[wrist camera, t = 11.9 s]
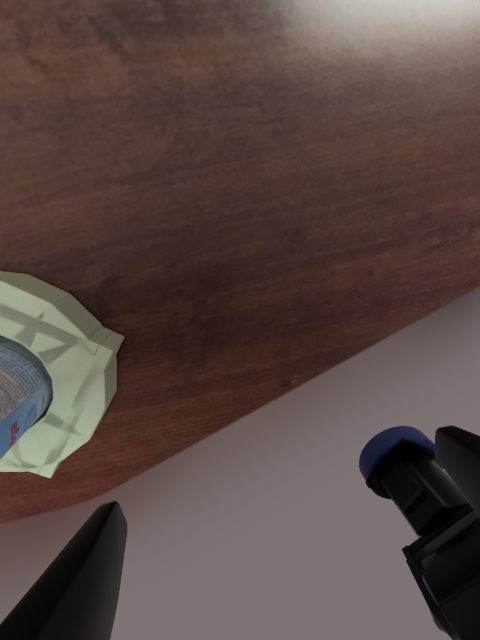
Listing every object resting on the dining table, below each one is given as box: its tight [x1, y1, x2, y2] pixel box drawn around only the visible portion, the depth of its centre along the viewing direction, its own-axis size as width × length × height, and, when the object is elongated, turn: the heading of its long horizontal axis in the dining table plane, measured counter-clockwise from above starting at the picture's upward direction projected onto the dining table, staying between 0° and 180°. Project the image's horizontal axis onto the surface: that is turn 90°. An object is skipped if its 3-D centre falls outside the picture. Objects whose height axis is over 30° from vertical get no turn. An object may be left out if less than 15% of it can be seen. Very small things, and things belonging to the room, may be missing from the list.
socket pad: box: [0, 271, 125, 478], centre depth 18 cm, size 13×13×2 cm
